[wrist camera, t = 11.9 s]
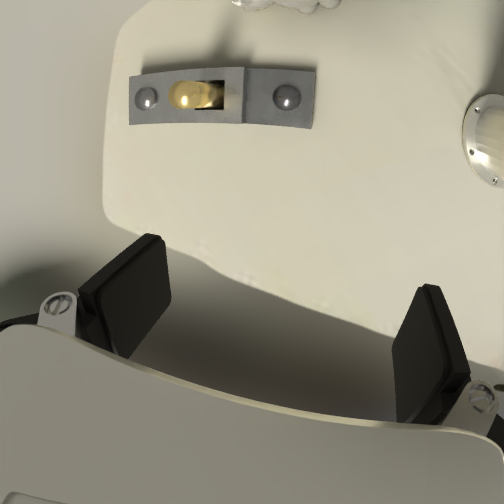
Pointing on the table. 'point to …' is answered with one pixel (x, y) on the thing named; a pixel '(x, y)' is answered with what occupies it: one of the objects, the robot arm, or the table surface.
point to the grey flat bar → (228, 97)
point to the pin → (195, 95)
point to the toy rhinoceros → (287, 4)
